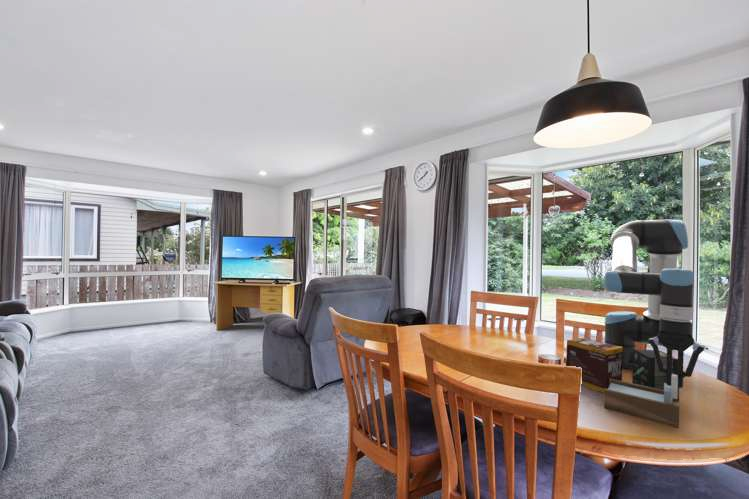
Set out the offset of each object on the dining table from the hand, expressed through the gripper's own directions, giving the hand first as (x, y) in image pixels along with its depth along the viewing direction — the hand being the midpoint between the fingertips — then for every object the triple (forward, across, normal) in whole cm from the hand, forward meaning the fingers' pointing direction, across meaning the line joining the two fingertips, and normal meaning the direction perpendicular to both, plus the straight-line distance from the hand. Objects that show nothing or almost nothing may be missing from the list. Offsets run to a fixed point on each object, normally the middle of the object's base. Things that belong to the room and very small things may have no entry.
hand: (674, 396), depth 104 cm
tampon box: (+7, -5, +19) cm, 21 cm away
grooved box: (+7, -8, 0) cm, 10 cm away
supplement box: (+7, -23, +15) cm, 28 cm away
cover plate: (+3, -8, 0) cm, 9 cm away
